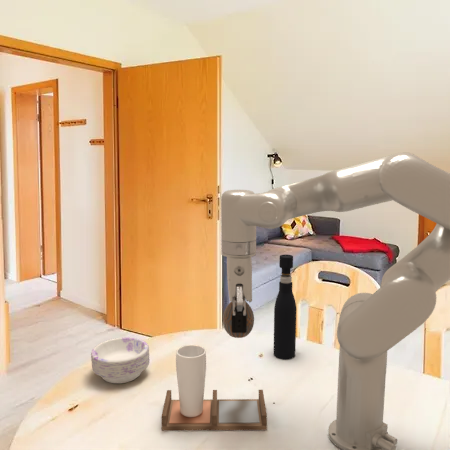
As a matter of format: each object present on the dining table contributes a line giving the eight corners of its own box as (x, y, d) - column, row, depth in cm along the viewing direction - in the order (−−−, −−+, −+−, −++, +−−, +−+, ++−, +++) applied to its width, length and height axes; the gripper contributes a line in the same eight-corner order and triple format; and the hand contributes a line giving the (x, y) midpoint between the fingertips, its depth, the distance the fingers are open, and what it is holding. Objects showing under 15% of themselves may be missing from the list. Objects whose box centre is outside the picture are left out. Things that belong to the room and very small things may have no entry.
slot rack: (262, 402, 118) (262, 389, 117) (266, 429, 107) (266, 415, 106) (167, 403, 118) (167, 390, 117) (161, 430, 107) (161, 416, 106)
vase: (245, 326, 113) (245, 290, 112) (259, 337, 107) (259, 299, 105) (218, 331, 110) (217, 294, 109) (231, 343, 104) (231, 303, 103)
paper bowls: (80, 381, 129) (78, 353, 127) (118, 358, 142) (117, 332, 140) (125, 395, 122) (124, 365, 120) (161, 370, 135) (160, 343, 133)
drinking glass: (207, 404, 115) (207, 345, 112) (204, 421, 108) (204, 358, 105) (179, 403, 115) (178, 343, 113) (174, 419, 109) (173, 357, 106)
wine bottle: (270, 351, 146) (271, 254, 140) (289, 348, 148) (291, 252, 142) (278, 360, 140) (280, 259, 134) (299, 357, 142) (301, 257, 136)
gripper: (258, 257, 97) (258, 341, 100) (253, 239, 114) (252, 311, 117) (221, 257, 97) (221, 341, 100) (221, 239, 114) (221, 311, 117)
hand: (238, 324), depth 108 cm, fingers closed on vase, 6 cm apart
